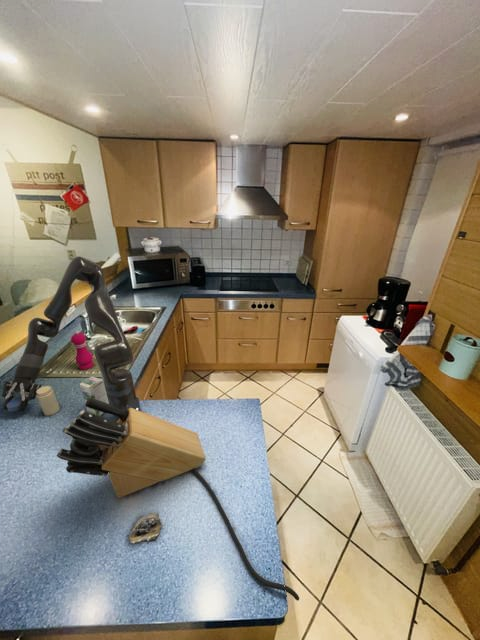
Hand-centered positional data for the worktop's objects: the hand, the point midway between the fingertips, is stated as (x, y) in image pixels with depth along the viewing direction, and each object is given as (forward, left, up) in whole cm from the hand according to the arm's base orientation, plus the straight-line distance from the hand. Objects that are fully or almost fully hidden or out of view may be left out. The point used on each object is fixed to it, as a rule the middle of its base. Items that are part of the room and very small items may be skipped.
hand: (13, 410), depth 96 cm
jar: (-10, -8, -3) cm, 13 cm away
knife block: (-62, -5, -3) cm, 62 cm away
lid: (+1, -2, +2) cm, 3 cm away
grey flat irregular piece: (-73, +7, -3) cm, 73 cm away
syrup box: (-27, -16, -3) cm, 31 cm away
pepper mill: (+5, -34, -3) cm, 34 cm away
